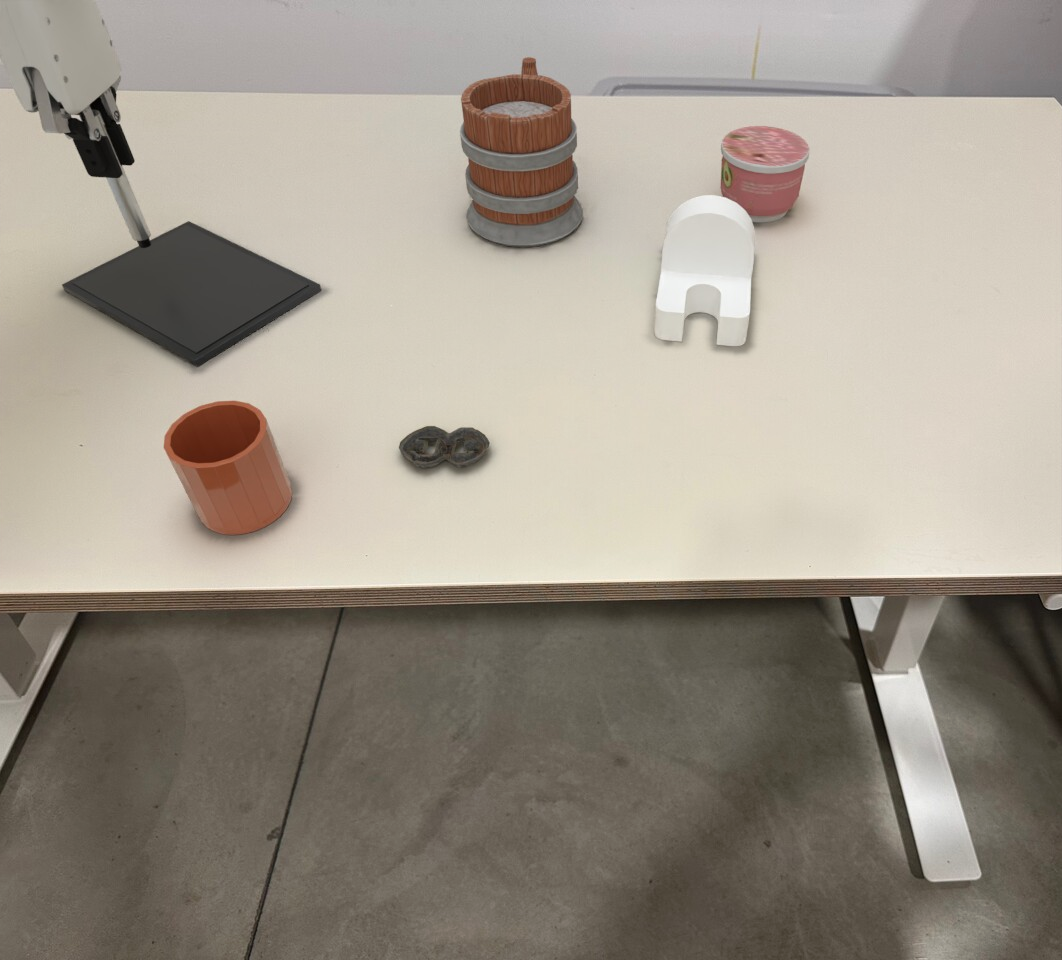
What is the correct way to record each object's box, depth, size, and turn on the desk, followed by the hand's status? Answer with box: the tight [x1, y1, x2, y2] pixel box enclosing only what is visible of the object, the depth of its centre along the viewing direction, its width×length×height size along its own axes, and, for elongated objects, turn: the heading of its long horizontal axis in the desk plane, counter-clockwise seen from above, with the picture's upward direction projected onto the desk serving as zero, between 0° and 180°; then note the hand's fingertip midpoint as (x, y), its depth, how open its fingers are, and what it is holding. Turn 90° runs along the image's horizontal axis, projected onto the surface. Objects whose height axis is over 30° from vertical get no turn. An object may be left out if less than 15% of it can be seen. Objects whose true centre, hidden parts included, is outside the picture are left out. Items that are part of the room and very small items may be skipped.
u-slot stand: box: [653, 194, 756, 347], centre depth 95 cm, size 10×18×11 cm, turn 174°
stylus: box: [78, 110, 152, 248], centre depth 89 cm, size 2×2×14 cm
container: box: [719, 125, 810, 223], centre depth 109 cm, size 10×10×8 cm
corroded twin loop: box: [398, 425, 490, 469], centre depth 80 cm, size 5×8×1 cm, turn 91°
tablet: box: [61, 220, 322, 368], centre depth 96 cm, size 16×22×1 cm
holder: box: [163, 400, 293, 536], centre depth 73 cm, size 8×8×8 cm
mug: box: [459, 56, 584, 248], centre depth 105 cm, size 14×19×15 cm
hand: (112, 168), depth 87 cm, fingers closed on stylus, 1 cm apart
